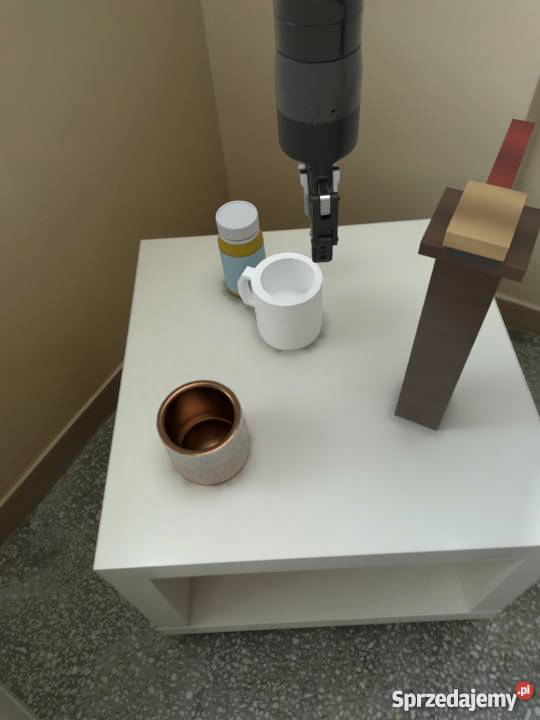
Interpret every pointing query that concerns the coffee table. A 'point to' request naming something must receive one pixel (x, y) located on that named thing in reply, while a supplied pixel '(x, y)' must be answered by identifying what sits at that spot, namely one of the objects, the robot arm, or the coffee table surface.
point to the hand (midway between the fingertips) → (318, 233)
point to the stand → (454, 312)
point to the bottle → (239, 241)
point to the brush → (490, 206)
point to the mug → (285, 299)
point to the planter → (204, 431)
